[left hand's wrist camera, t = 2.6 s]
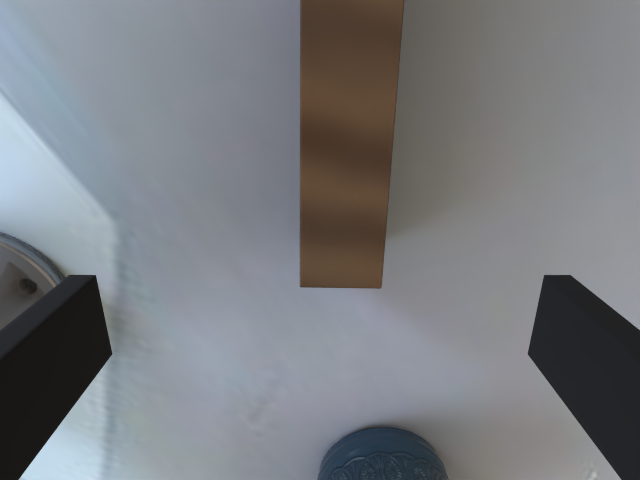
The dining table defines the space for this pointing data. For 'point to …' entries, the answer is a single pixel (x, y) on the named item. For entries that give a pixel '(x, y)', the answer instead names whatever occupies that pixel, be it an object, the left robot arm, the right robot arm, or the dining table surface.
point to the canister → (382, 457)
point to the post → (346, 137)
